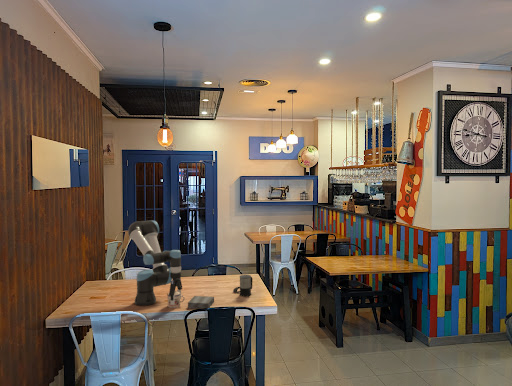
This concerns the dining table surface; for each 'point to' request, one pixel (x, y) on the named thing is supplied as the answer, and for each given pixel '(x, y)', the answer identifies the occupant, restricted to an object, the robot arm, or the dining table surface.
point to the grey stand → (200, 302)
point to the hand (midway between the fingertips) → (176, 301)
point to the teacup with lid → (177, 300)
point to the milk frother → (244, 285)
